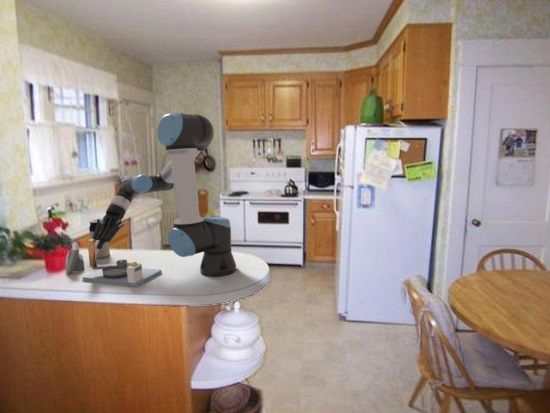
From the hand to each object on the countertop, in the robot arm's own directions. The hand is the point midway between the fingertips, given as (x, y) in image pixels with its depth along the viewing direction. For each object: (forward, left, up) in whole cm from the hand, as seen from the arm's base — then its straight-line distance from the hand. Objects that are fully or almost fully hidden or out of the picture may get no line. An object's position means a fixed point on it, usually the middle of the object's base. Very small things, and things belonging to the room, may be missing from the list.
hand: (92, 255), depth 155 cm
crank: (-8, -1, -7) cm, 11 cm away
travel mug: (+19, -25, -9) cm, 33 cm away
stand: (-12, -3, -9) cm, 15 cm away
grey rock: (+17, -6, -10) cm, 20 cm away
